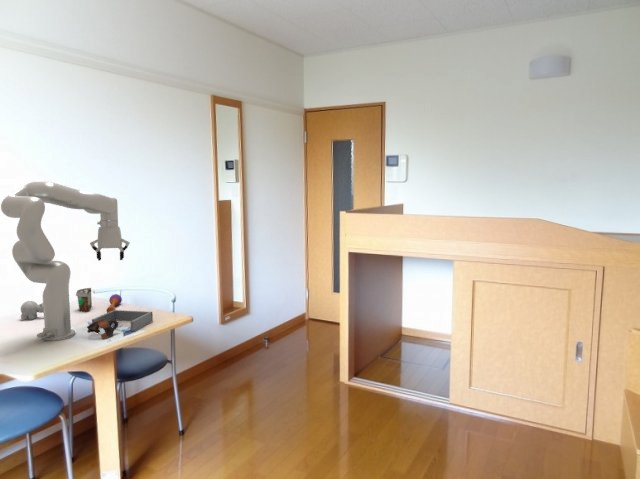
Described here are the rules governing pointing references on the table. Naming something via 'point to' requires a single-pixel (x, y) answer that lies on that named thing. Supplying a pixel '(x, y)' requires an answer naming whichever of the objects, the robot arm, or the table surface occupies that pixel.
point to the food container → (84, 299)
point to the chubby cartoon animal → (31, 310)
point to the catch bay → (128, 317)
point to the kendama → (114, 302)
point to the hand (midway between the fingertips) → (110, 260)
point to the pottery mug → (105, 325)
